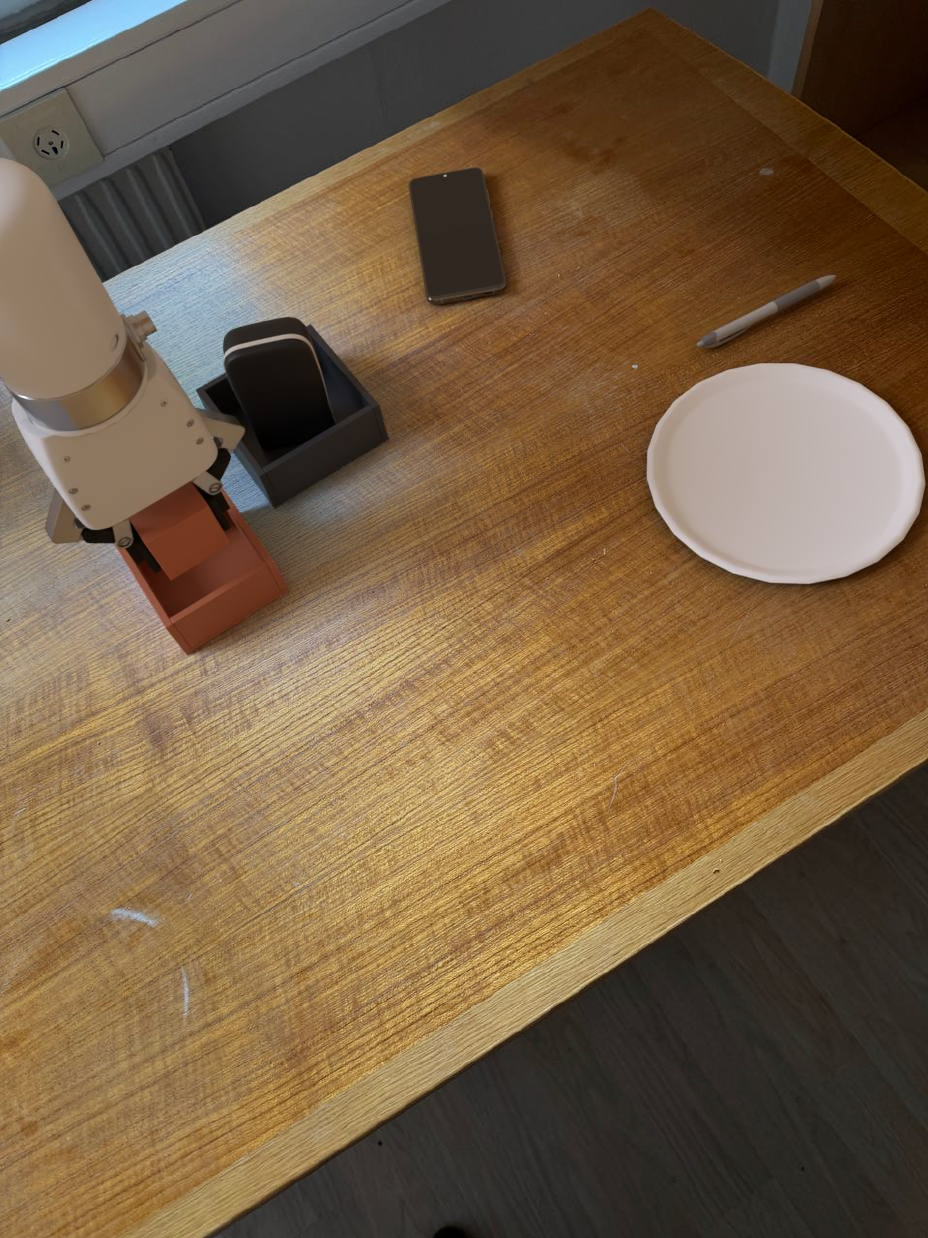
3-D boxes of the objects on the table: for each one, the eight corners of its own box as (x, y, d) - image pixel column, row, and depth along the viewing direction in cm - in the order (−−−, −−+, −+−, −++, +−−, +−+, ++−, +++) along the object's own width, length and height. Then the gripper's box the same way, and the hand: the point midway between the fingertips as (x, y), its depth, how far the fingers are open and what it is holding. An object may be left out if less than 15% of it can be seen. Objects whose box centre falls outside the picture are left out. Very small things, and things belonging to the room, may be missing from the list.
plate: (762, 641, 74) (764, 633, 73) (593, 451, 84) (593, 442, 83) (982, 498, 78) (987, 488, 77) (796, 332, 87) (799, 321, 86)
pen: (693, 348, 88) (694, 337, 86) (830, 280, 90) (833, 267, 88) (700, 356, 87) (701, 344, 86) (837, 287, 89) (841, 274, 88)
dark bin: (274, 509, 84) (259, 476, 81) (212, 423, 89) (194, 389, 85) (389, 439, 87) (379, 404, 83) (322, 359, 91) (310, 323, 88)
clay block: (171, 580, 75) (144, 544, 70) (142, 534, 77) (114, 496, 73) (231, 544, 76) (208, 505, 71) (200, 499, 78) (177, 459, 73)
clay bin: (186, 655, 79) (165, 628, 75) (136, 572, 83) (113, 543, 79) (289, 590, 81) (274, 561, 77) (235, 513, 85) (217, 481, 81)
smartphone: (426, 301, 92) (407, 177, 99) (428, 309, 93) (408, 187, 100) (508, 286, 92) (482, 164, 99) (509, 295, 93) (483, 173, 100)
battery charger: (335, 401, 88) (303, 302, 78) (341, 435, 87) (309, 339, 77) (255, 418, 88) (213, 322, 78) (259, 453, 87) (216, 360, 77)
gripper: (176, 264, 63) (260, 446, 79) (-80, 404, 60) (61, 564, 76) (232, 335, 60) (308, 510, 76) (-36, 487, 57) (103, 637, 73)
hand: (184, 536), depth 76 cm, fingers closed on clay block, 5 cm apart
